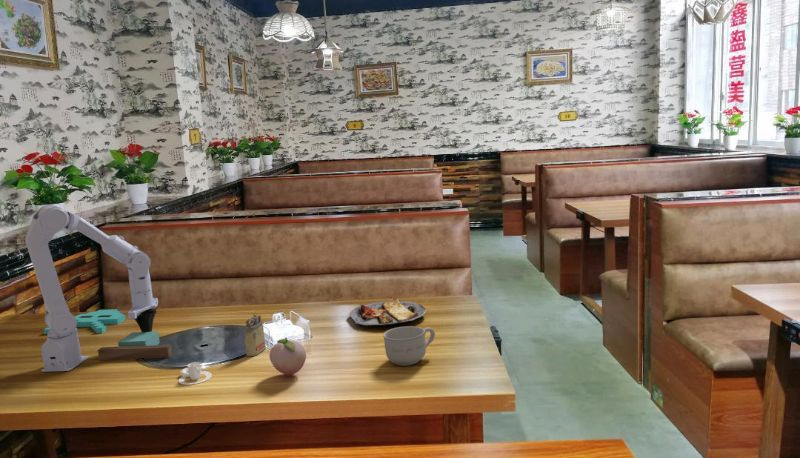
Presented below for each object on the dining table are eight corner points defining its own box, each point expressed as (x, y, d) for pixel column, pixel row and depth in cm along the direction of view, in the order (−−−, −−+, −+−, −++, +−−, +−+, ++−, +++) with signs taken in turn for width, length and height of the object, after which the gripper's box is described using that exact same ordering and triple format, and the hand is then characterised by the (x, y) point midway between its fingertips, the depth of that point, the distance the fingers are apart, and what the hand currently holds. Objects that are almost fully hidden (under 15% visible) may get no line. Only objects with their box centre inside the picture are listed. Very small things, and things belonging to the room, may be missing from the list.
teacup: (391, 372, 145) (389, 341, 144) (380, 357, 155) (378, 328, 154) (444, 363, 149) (442, 333, 147) (430, 349, 159) (429, 320, 158)
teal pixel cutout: (102, 334, 189) (136, 314, 209) (101, 327, 189) (135, 308, 209) (44, 335, 192) (83, 316, 211) (43, 329, 191) (82, 310, 211)
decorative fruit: (315, 374, 147) (311, 336, 145) (287, 386, 141) (283, 346, 139) (293, 365, 153) (290, 328, 152) (266, 375, 148) (262, 337, 146)
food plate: (343, 312, 197) (342, 302, 196) (409, 302, 203) (409, 292, 203) (361, 336, 173) (360, 324, 172) (435, 324, 180) (435, 312, 179)
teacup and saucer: (178, 375, 152) (176, 360, 151) (210, 369, 155) (209, 355, 154) (178, 389, 144) (176, 373, 143) (212, 382, 147) (210, 366, 146)
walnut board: (168, 357, 164) (167, 347, 164) (99, 360, 165) (97, 350, 165) (171, 354, 166) (170, 344, 166) (103, 357, 167) (101, 347, 167)
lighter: (254, 357, 161) (251, 322, 159) (242, 356, 162) (238, 321, 160) (268, 347, 167) (264, 313, 166) (256, 346, 169) (252, 313, 167)
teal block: (147, 354, 168) (145, 340, 168) (120, 355, 169) (118, 342, 168) (159, 344, 176) (158, 331, 176) (133, 345, 177) (132, 332, 176)
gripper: (142, 297, 167) (148, 342, 170) (165, 283, 182) (170, 325, 184) (118, 298, 168) (125, 343, 170) (143, 284, 182) (148, 326, 184)
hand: (147, 334), depth 177 cm, fingers closed
